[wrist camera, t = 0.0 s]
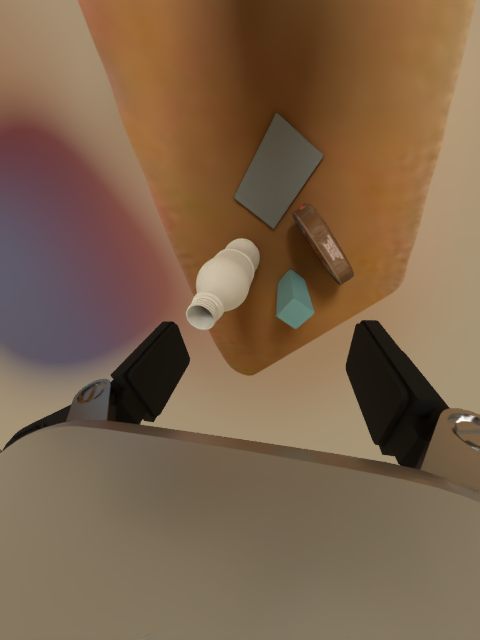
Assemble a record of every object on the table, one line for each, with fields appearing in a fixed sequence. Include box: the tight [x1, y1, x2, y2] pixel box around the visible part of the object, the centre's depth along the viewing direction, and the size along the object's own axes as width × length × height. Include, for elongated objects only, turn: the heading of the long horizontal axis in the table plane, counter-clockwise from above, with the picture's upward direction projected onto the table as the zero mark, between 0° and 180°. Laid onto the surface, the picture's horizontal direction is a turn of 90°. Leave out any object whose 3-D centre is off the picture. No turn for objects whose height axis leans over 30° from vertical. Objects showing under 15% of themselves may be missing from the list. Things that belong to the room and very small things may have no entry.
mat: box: [234, 112, 324, 229], centre depth 30 cm, size 12×9×1 cm
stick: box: [276, 269, 314, 329], centre depth 34 cm, size 4×4×14 cm
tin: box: [292, 204, 354, 286], centre depth 31 cm, size 15×3×8 cm, turn 41°
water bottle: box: [186, 238, 260, 330], centre depth 28 cm, size 7×7×25 cm
